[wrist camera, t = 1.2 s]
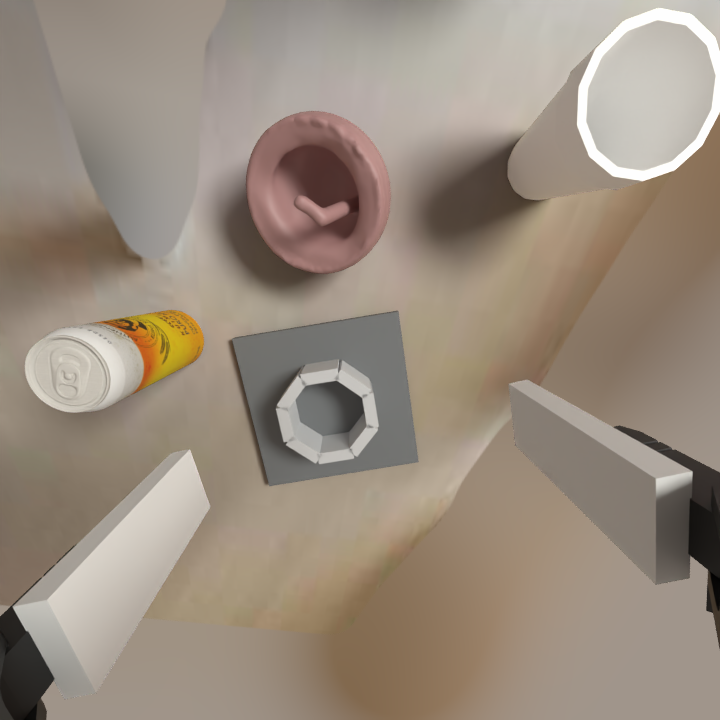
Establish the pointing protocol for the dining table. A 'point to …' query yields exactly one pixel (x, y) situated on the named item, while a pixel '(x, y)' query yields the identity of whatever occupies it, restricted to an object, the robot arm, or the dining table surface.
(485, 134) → the dining table surface
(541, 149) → the foam cup
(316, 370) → the socket
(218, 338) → the dining table surface
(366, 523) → the dining table surface
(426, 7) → the dining table surface
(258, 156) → the mortar and pestle
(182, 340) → the beer can
